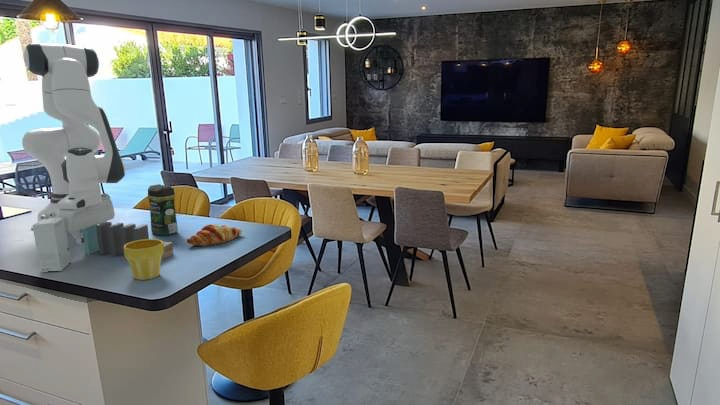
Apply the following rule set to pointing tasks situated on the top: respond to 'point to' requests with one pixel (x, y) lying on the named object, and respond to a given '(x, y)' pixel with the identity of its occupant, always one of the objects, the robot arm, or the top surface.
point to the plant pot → (144, 257)
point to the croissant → (214, 235)
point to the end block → (167, 250)
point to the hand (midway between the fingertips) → (91, 239)
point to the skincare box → (51, 244)
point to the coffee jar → (162, 210)
